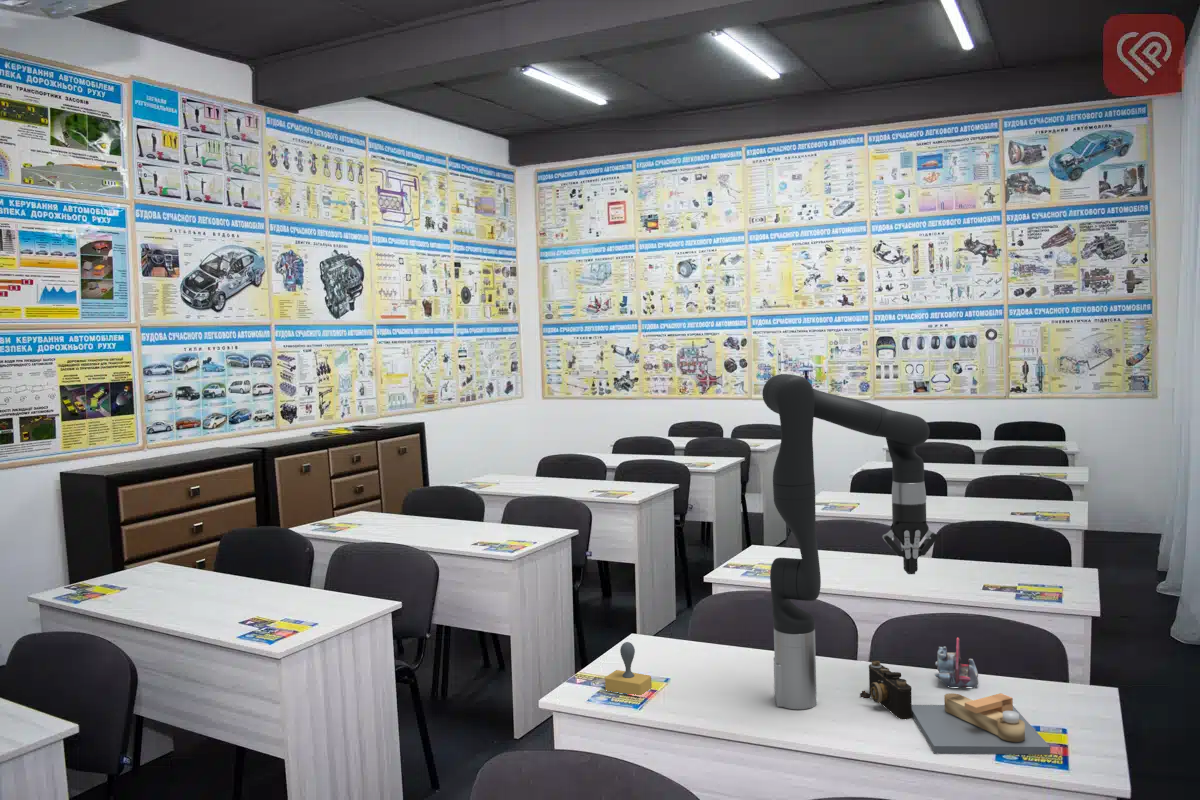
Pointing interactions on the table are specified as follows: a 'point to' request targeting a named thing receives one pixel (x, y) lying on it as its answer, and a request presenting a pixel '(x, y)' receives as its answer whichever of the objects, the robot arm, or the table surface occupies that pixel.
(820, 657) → the table surface
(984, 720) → the latch lever
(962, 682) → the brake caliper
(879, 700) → the camera
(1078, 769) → the table surface
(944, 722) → the base plate
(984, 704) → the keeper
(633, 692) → the rubber stamp
